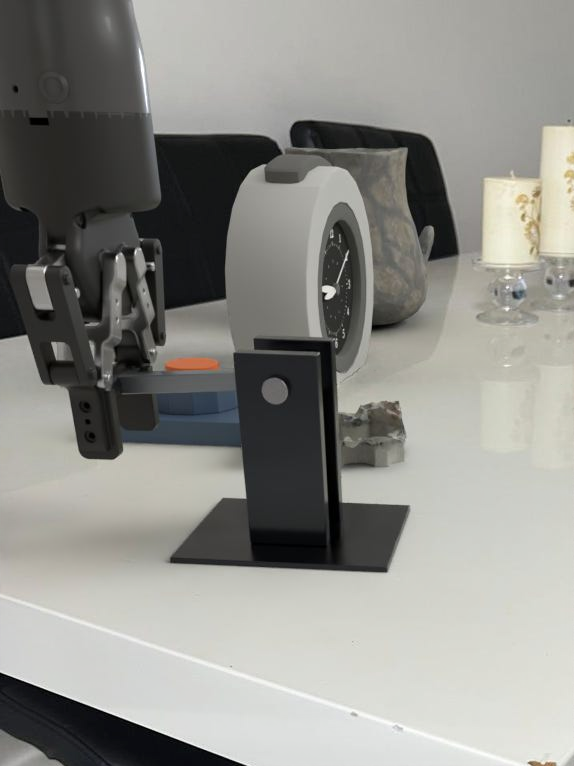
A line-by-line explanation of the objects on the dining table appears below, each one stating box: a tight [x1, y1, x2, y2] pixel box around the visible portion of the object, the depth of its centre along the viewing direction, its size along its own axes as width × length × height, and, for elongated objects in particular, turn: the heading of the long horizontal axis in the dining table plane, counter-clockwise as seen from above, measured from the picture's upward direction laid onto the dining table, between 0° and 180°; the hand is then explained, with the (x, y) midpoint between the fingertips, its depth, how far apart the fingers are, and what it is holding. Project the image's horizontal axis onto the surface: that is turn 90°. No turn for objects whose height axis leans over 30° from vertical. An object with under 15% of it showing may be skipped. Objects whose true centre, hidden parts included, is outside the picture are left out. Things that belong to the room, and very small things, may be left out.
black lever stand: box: [169, 335, 411, 573], centre depth 56 cm, size 12×10×12 cm
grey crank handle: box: [111, 359, 236, 399], centre depth 55 cm, size 12×5×2 cm, turn 86°
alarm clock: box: [224, 153, 373, 385], centre depth 95 cm, size 21×8×20 cm, turn 170°
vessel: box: [283, 146, 435, 326], centre depth 121 cm, size 22×22×20 cm
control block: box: [120, 391, 242, 448], centre depth 78 cm, size 12×10×4 cm
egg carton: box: [338, 400, 408, 468], centre depth 72 cm, size 11×8×4 cm
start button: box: [164, 357, 220, 371], centre depth 77 cm, size 4×4×2 cm
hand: (121, 441), depth 57 cm, fingers closed on grey crank handle, 5 cm apart
